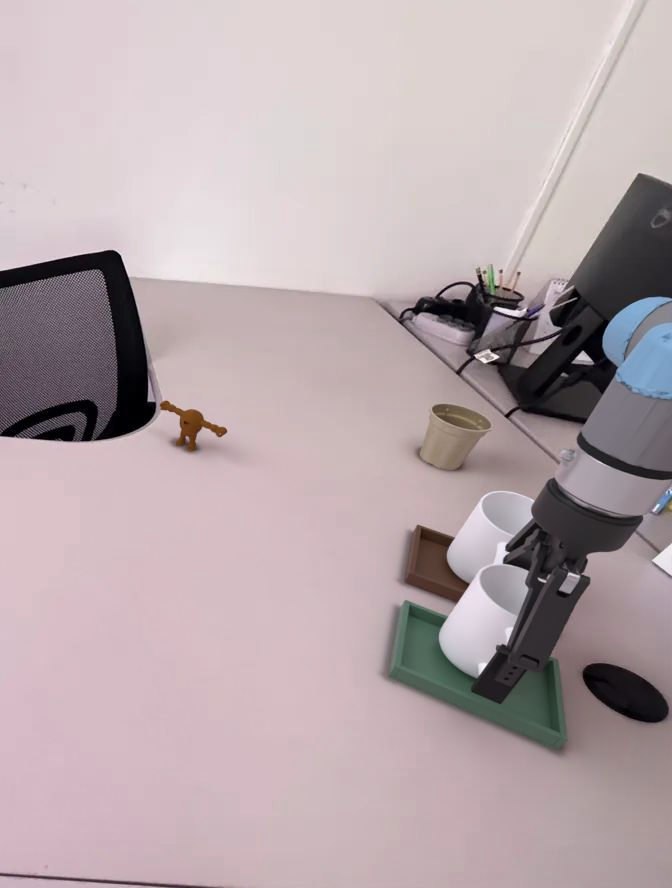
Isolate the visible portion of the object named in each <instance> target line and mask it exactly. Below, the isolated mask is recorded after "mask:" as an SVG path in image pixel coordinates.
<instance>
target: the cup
mask: <svg viewBox="0 0 672 888" xmlns="http://www.w3.org/2000/svg"><path fill="white" fill-rule="evenodd" d="M528 572H529V571H528V570H525V569H522V568H520V567H516V566H512V565H507V564H491V565H487V566H485V567H483V568H482V569H481V570H480V571H479V572H478V574H477V575H476V577H475V578H474V579H473V581H472V582H471V584H470V585H469V587H468V588H467V590H466V591H465V593H464V594H463V596H462V597H461V599H460V600H459V602H458V603H456V605H455V606H454V608H453V609H452V610H451V613H450V614H449V615H448V618H447V620H446V621H445V623H444V624H443V626H442V628H441V630H440V633H439V643H440V646H441V649H442V651H443V653H444V654H445V656H446V657H447V658H448V659H449V661H450V662H451V663H452V664H454V665H455V666H456V667H457V668H458V669H460V670H461V671H463V672H464V673H466V674H468V675H470V676H472V677H474V678H478V677H479V675H480V674H481V672H482V671H483V670H484V668H485V667H486V666H487V664H488V663H489V661H490V660H491V659H492V657H493V656H494V654H495V653H496V652H497V651H496V645H502V644H504V645H507V643H508V641H509V638H510V635H511V633H512V630H513V628H514V625H515V623H516V620H517V618H518V615H519V613H520V610H521V607H522V605H523V602H524V600H525V597H526V595H527V592H528V587H527V586H526V585H525V580H526V578H527V575H528ZM538 580H539V581H541V582H544V583H546V581H545V580H543V579H540V578H538Z"/></svg>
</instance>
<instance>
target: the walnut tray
mask: <svg viewBox="0 0 672 888" xmlns="http://www.w3.org/2000/svg"><path fill="white" fill-rule="evenodd" d="M455 537H456V536H453V535H449V534H446V533H444V532H441V531H437V530H435V529H432V528H430V527H426V526H424V525H420V524H416V526H415V528H414V529H413V532H412V533H411V539H410V546H409V551H408V557H407V561H406V562H407V563H406V568H405V573H404V574H405V575H404V580H403V583H404V584H407V585H409V586H412V587H415V588H418V589H419V590H422V591H425V592H427V593H429V594H433V595H435V596H438V597H441V598H443V599H446V600H448V601H451V602H453V603H456V604H457V603H458V602H459V600H460V599H461V597H462V596H463V594H464V593H465V591H466V590H467V588H468V587H469V585H470V584H468V583H466V582H465V581H463V580H462V579H461V578H459V577H458V576H457V575H456V574H455V573H454V572H453V570H452V569H451V568H450V566H449V564H448V561H447V551H448V549H449V547H450V545H451V543H452V542H453V540H454V539H455Z"/></svg>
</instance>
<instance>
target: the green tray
mask: <svg viewBox="0 0 672 888" xmlns="http://www.w3.org/2000/svg"><path fill="white" fill-rule="evenodd" d="M401 604H402V605H401V606H400V608H399V609H398V610H399V611H398V616H397V621H396V628H395V633H394V638H393V639H394V640H393V646H392V651H391V657H390V663H389V669H388V674H387V676H388V678H391V679H393V680H395V681H398V682H400V683H402V684H404V685H406V686H409V687H412V688H414V689H416V690H419V691H420V692H423V693H425V694H427V695H430V696H432V697H435V698H437V699H439V700H441V701H444V702H445V703H448V704H450V705H453V706H455V707H457V708H459V709H462V710H464V711H467V712H469V713H471V714H474V715H475V716H478V717H480V718H482V719H485V720H487V721H490V722H492V723H494V724H497V725H498V726H501V727H503V728H505V729H508V730H510V731H513V732H514V733H517V734H520V735H521V736H524V737H526V738H529V739H531V740H533V741H535V742H537V743H540V744H542V745H544V746H547V747H548V748H552V749H553V750H556V751H559V750H560V749H561V748H562V747H563V745H564V744H565V743H566V742H567V741H568V735H567V726H566V719H565V718H566V715H565V707H564V699H563V697H564V696H563V688H562V679H561V671H560V670H561V669H560V662H559V661H560V660H559V659H557V658H555V657H552V656H550V657H549V659H548V661H547V663H546V665H545V667H544V670H543V671H542V673H541V674H537V673H535V672H532V671H529V670H527V671H526V673H525V674H524V675H523V676H522V678H521V679H520V680H519V682H518V683H517V684H516V686H515V687H514V688H513V689H512V691H511V692H510V693H509V695H508V696H507V697H506V698H505V700H504V701H503V702H502V704H498V703H496V702H494V701H491V700H489V699H487V698H484V697H482V696H480V695H477V694H475V693H473V692H471V686H472V685H473V684H474V682H475V681H476V679H477V678H474V677H472V676H470V675H468V674H466V673H464V672H463V671H461V670H460V669H458V668H457V667H456V666H455V665H454V664H452V663H451V662H450V661H449V659H448V658H447V657H446V656H445V654H444V653H443V651H442V649H441V646H440V643H439V633H440V630H441V628H442V626H443V624H444V623H445V621H446V620H447V618H448V617H449V615H446V614H443V613H440V612H438V611H435V610H433V609H430V608H428V607H425V606H423V605H420V604H418V603H415V602H412V601H409V600H407V599H404V601H403V603H401Z"/></svg>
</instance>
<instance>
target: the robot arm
mask: <svg viewBox="0 0 672 888" xmlns="http://www.w3.org/2000/svg"><path fill="white" fill-rule="evenodd" d="M601 347H602V350H603V353H604V355H605V356H606V358H607V359H608V360H609V361H610V362H612V364H613V365H615V366H616V367H617V369H616V371H615V374H614V376H613V378H612V379H611V381H610V383H609V384H608V385H607V387H606V389H605V390H604V392H603V394H602V395H601V397H600V399H599V401H598V402H597V404H596V405H595V407H594V409H593V410H592V411H591V414H589V417H588V418H587V420H586V422H585V423H584V425H583V426H582V428H581V429H580V431H579V432H578V434H577V436H576V438H575V440H574V441H573V442H572V445H571V447H570V448H561V449H559V452H558V454H557V456H558V458H559V459H560V460H561V461H560V462H559V464H558V466H557V467H556V469H555V471H554V473H553V475H554V477H551V478H549V479H548V480H547V481H546V483H545V484H544V486H543V487H542V489H541V490H540V492H539V494H538V495H537V496H536V498H535V499H534V503H533V505H532V507H531V514H532V516H533V518H532V519H531V520H530V521H529V522H528V523H527V524H526V525H525V526H524V527H523V528H522V529H521V530H520V531H519V532H518V533H517V534H516V535H515V536H514V537H513V538H512V539H511V540H510V541H509V542H508V544H506V546H505V551H507V552H509V554H507V555H505V557H504V558H503V564H507V565H512V566H516V567H520V568H522V569H525V570H528V571H529V572H528V575H527V578H526V580H525V585H526V586H527V587H528V592H527V595H526V597H525V600H524V602H523V605H522V607H521V610H520V613H519V615H518V618H517V620H516V623H515V625H514V628H513V630H512V633H511V635H510V638H509V641H508V643H507V645H504V644H502V645H496V651H497V652H496V653H495V654H494V656H493V657H492V659H491V660H490V661H489V663H488V664H487V666H486V667H485V668H484V670H483V671H482V672H481V674H480V675H479V677H478V678H477V679H476V681H475V682H474V684H473V685H472V686H471V692H473V693H475V694H477V695H480V696H482V697H484V698H487V699H489V700H491V701H494V702H496V703H498V704H502V702H503V701H504V700H505V698H506V697H507V696H508V695H509V693H510V692H511V691H512V689H513V688H514V687H515V686H516V684H517V683H518V682H519V680H520V679H521V678H522V676H523V675H524V674H525V673H526V671H527V670H529V671H532V672H535V673H537V674H541V673H542V671H543V670H544V667H545V665H546V663H547V661H548V659H549V657H551V656H552V653H553V651H554V649H555V647H556V645H557V643H558V641H559V640H560V637H561V635H562V634H563V631H564V630H565V627H566V625H567V623H568V621H569V620H570V617H571V615H572V614H573V612H574V610H575V607H576V605H577V604H578V602H579V600H580V599H581V597H583V596H582V595H583V594H584V593H585V591H586V590H587V589H588V588H589V586H590V585H591V580H592V579H591V577H590V576H589V575H585V574H583V573H584V572H585V571H586V568H587V565H588V563H589V558H588V555H590V554H595V553H612V552H616V551H618V550H620V549H622V548H623V547H624V546H625V545H626V544H627V542H628V541H629V540H630V538H631V537H632V536H633V535H634V533H635V532H636V530H638V528H639V527H640V525H641V524H642V523H643V521H644V516H646V515H648V514H649V513H651V512H653V510H654V509H655V508H656V506H657V505H658V504H659V502H660V501H661V500H662V498H663V497H664V496H665V494H666V493H667V492H668V491H669V490H670V488H671V487H672V298H671V297H665V296H653V297H652V296H650V297H645V298H642V299H639V300H637V301H635V302H633V303H631V304H629V305H627V306H626V307H624V308H622V310H620V311H619V312H618V313H617V314H615V316H614V317H613V318H612V319H611V320H610V322H609V323H608V325H607V327H606V328H605V330H604V333H603V336H602V345H601ZM538 578H540V579H543V580H545V581H546V583H544V582H541V581H539V580H538Z"/></svg>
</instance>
